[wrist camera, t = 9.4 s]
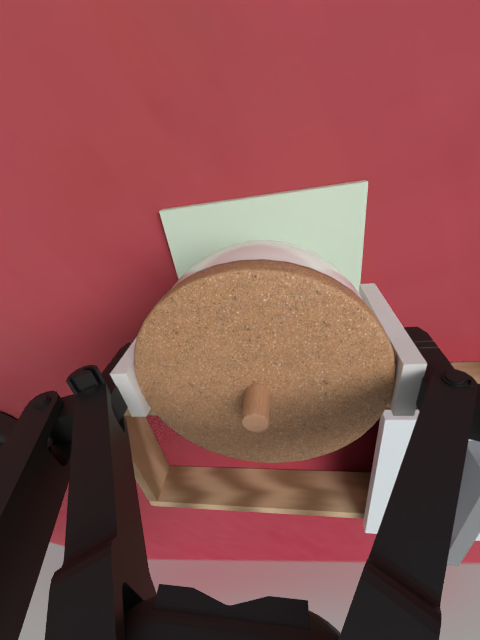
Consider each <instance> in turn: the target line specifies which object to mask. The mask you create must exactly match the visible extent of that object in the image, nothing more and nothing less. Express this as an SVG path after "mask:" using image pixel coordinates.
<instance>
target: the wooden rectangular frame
mask: <svg viewBox="0 0 480 640" xmlns="http://www.w3.org/2000/svg"><path fill="white" fill-rule="evenodd" d="M451 365H452V366H453V367H454V369H458V370H460V371H463V372H466V373H467V374H469V375H470V376H472V377H473V378H474V379H475V381H476V382H477V383H478V384H480V362H454V363H451ZM385 410H391V409H390V406H389V404H388V405H387V407H386V409H385ZM416 410H418V408H417V406H416ZM148 415H157V414H156V413H155V412H154V411H153V409H152V408H151V409H150V411H149V413H148ZM124 417H125V419H126V421H127V427H128V434H129V441H130V447H131V454H132V461H133V468H134V474H135V479H136V481H137V483H138V484H139V486H140V488H141V489H142V491H143V492H144V494H145V496H146V497H147V499H148V500H149V502H150V504H151V505H152V506H165V507H182V508H198V509H215V510H232V511H248V512H265V513H281V514H298V515H314V516H331V517H347V518H364V514H365V508H366V502H367V496H368V490H369V483H370V477H371V472H342V471H312V470H281V469H250V468H220V467H189V466H169V464H168V462H167V460H166V458H165V455H164V453H163V451H162V449H161V447H160V445H159V443H158V441H157V439H156V437H155V435H154V433H153V431H152V429H151V427H150V425H149V422H148V420H147V418H146V417H132V416H131V414H130V412H129V410H128V409H127V410H126V412H125V414H124Z"/></svg>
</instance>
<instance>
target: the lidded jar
mask: <svg viewBox="0 0 480 640" xmlns="http://www.w3.org/2000/svg"><path fill="white" fill-rule="evenodd" d="M134 367H135V372H136V378H137V381H138V383H139V386H140V389H141V392H142V394H143V396H144V397H145V399H146V401H147V402H148V404H149V405H150V407H151V408H152V409H153V411H154V412H155V413H156V414H157V416H158V417H159V418H160V419H161V420H162V421H163V422H164V423H166V424H167V425H168V426H169V427H170V428H171V429H173V430H174V431H175V432H176V433H178V434H179V435H180V436H182V437H184V438H185V439H187V440H189V441H191V442H192V443H194V444H196V445H198V446H200V447H202V448H205V449H207V450H209V451H212V452H215V453H218V454H221V455H224V456H228V457H232V458H236V459H240V460H247V461H254V462H267V463H279V462H293V461H302V460H307V459H311V458H315V457H319V456H322V455H325V454H328V453H331V452H334V451H336V450H338V449H340V448H342V447H344V446H346V445H348V444H350V443H352V442H353V441H355V440H356V439H358V438H359V437H361V436H362V435H363V434H364V433H366V432H367V431H368V430H369V429H370V428H371V427H372V426H373V425H374V424H375V423H376V421H377V420H378V419H379V418H380V417H381V415H382V414H383V412H384V410H385V409H386V407H387V405H388V403H389V401H390V399H391V396H392V392H393V388H394V385H395V376H396V363H395V358H394V352H393V348H392V346H391V344H390V341H389V339H388V337H387V334H386V332H385V330H384V328H383V326H382V325H381V323H380V322H379V320H378V319H377V317H376V316H375V315H374V313H373V312H372V310H371V309H370V308H369V306H368V305H367V304H366V303H365V301H364V300H363V298H362V297H361V295H360V294H359V293H358V291H357V290H356V288H355V287H354V286H353V284H352V283H351V282H350V281H349V280H348V279H347V278H346V277H345V276H344V275H343V274H342V273H341V272H340V271H339V270H338V269H337V268H336V267H335V266H334V265H333V264H331V263H330V262H328V261H327V260H325V259H324V258H322V257H321V256H319V255H318V254H316V253H314V252H312V251H310V250H308V249H306V248H303V247H301V246H299V245H295V244H291V243H288V242H284V241H275V240H250V241H245V242H241V243H236V244H233V245H230V246H228V247H225V248H223V249H220V250H218V251H215V252H214V253H212V254H210V255H209V256H207V257H205V258H204V259H202V260H200V261H199V262H198V263H197V264H195V265H194V266H193V267H192V268H191V269H190V270H188V271H187V272H186V273H185V274H184V275H183V276H181V278H180V279H179V280H178V281H177V282H176V283H175V285H174V286H173V287H172V288H171V289H170V290H169V291H168V292H167V293H166V294H164V295H163V296H162V297H161V299H160V300H159V301H158V302H157V304H156V305H155V306H154V308H153V309H152V310H151V311H150V313H149V314H148V315H147V317H146V318H145V320H144V322H143V324H142V326H141V328H140V330H139V332H138V335H137V339H136V343H135V348H134Z"/></svg>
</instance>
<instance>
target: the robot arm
mask: <svg viewBox="0 0 480 640" xmlns="http://www.w3.org/2000/svg"><path fill="white" fill-rule="evenodd" d="M359 294H360V295H361V297H362V298H363V300H364V301H365V303H366V304H367V305H368V306H369V308H370V309H371V310H372V312H373V313H374V315H375V316H376V317H377V319H378V320H379V322H380V323H381V325H382V326H383V328H384V330H385V332H386V334H387V337H388V339H389V341H390V344H391V346H392V348H393V352H394V358H395V363H396V376H395V385H394V388H393V392H392V396H391V399H390V401H389V403H388V404H389V406H390V409H391V411H392V414H393V416H414V414H415V410H416V406H417V408H418V410H419V414H418V417H417V420H416V423H415V426H414V429H413V432H412V435H411V437H410V440H409V443H408V446H407V449H406V452H405V455H404V458H403V461H402V463H401V466H400V469H399V472H398V475H397V478H396V481H395V484H394V486H393V489H392V492H391V495H390V498H389V501H388V504H387V507H386V510H385V512H384V515H383V518H382V521H381V524H380V527H379V530H378V533H377V535H376V538H375V541H374V544H373V547H372V550H371V553H370V555H369V558H368V559H367V561H366V564H365V566H364V569H363V572H362V575H361V577H360V580H359V583H358V586H357V589H356V592H355V595H354V597H353V600H352V603H351V606H350V609H349V612H348V615H347V617H346V620H345V623H344V626H343V629H342V632H341V633H340V632H339V631H338V630H337V629H336V628H335V627H333V626H332V625H331V624H330V623H329V622H328V621H326V620H325V619H323V618H321V617H320V616H319V615H317V614H315V613H313V612H311V611H309V610H308V601H306V600H298V599H289V598H280V597H271V596H268V597H264V598H260V599H256V600H252V601H248V602H244V603H239V604H236V605H231V606H230V605H225V604H223V603H221V602H219V601H217V600H215V599H213V598H212V597H210V596H208V595H206V594H204V593H202V592H200V591H198V590H196V589H194V588H190V587H181V586H172V585H163V584H159V587H158V591H157V595H156V591H155V588H154V586H153V583H152V580H151V577H150V573H149V568H148V563H147V555H146V548H145V541H144V535H143V528H142V521H141V515H140V508H139V501H138V494H137V488H136V481H135V474H134V468H133V461H132V454H131V447H130V441H129V434H128V427H127V421H126V419H125V417H124V414H125V412H126V410H127V409H128V410H129V412H130V414H131V416H132V417H147V415H148V413H149V411H150V409H151V407H150V405H149V404H148V402H147V401H146V399H145V397H144V396H143V394H142V392H141V389H140V386H139V383H138V381H137V378H136V372H135V367H134V348H135V343H136V339H137V337H136V339H135V340H134V341H133V343H128V344H126V345H125V346H124V347H122V348H121V349H120V350H119V351H118V353H117V354H116V355H115V357H114V358H113V359H112V361H111V362H110V363H109V365H108V366H107V367H106V368H105V370H104V371H103V372H102V374H101V373H100V371H99V369H98V367H97V366H95V365H88V366H84V367H81V368H79V369H77V370H76V371H74V372H73V373H71V375H70V376H69V377H68V378H67V381H66V382H67V383H68V385H69V387H70V388H71V390H72V391H73V393H74V395H70V396H66V397H62V398H60V396H59V395H58V393H57V392H55V391H48V392H45V393H42V394H40V395H38V396H36V397H35V398H34V399H32V400H31V401H30V402H29V403H28V404H27V406H26V407H25V409H24V411H23V412H22V414H21V416H20V417H19V419H18V421H17V420H16V419H14V418H12V417H10V416H8V415H6V414H3V413H1V412H0V640H18V638H19V635H20V632H21V629H22V626H23V622H24V619H25V616H26V613H27V610H28V607H29V604H30V601H31V597H32V594H33V591H34V588H35V585H36V582H37V579H38V576H39V573H40V570H41V566H42V563H43V560H44V557H45V553H46V551H47V548H48V544H49V542H50V538H51V535H52V532H53V529H54V526H55V523H56V520H57V517H58V514H59V510H60V507H61V504H62V501H63V498H64V495H65V492H66V489H67V486H68V482H69V492H68V507H67V522H66V537H65V553H64V562H63V565H62V567H61V568H60V569H59V570H57V571H56V572H55V573H54V575H53V577H52V579H51V585H50V591H49V602H48V612H47V622H46V633H45V640H439V635H440V628H441V610H440V602H441V595H442V589H443V583H444V577H445V571H446V566H447V561H448V555H449V549H450V544H451V538H452V532H453V526H454V521H455V515H456V509H457V504H458V498H459V492H460V487H461V481H462V475H463V470H464V464H465V458H466V452H467V447H468V441H469V439H470V440H474V441H478V442H480V384H478V383H477V382H476V381H475V379H474V378H473V377H472V376H470V375H469V374H467V373H466V372H463V371H460V370H458V369H454V367H453V366H452V365H451V363H450V362H449V361H448V359H447V358H446V357H445V355H444V354H443V353H442V352H441V350H440V349H439V348H438V346H437V345H436V344H435V342H433V340H432V338H431V337H430V336H429V334H428V333H427V332H425V331H423V330H422V329H420V328H419V327H403V326H402V324H401V323H400V321H399V320H398V318H397V317H396V315H395V314H394V312H393V311H392V309H391V308H390V306H389V305H388V303H387V302H386V300H385V299H384V297H383V295H382V294H381V292H380V291H379V289H378V288H377V286H376V285H375V283H371V284H360V286H359ZM48 441H49V442H48ZM47 442H48V444H47Z"/></svg>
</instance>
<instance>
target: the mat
mask: <svg viewBox="0 0 480 640" xmlns="http://www.w3.org/2000/svg"><path fill="white" fill-rule="evenodd" d="M367 190H368V181H366V180H363V181H356V182H349V183H342V184H335V185H328V186H321V187H314V188H307V189H300V190H293V191H286V192H279V193H272V194H265V195H258V196H251V197H244V198H237V199H230V200H223V201H216V202H209V203H202V204H195V205H188V206H181V207H174V208H167V209H162V210H160V211H159V213H160V216H161V220H162V223H163V227H164V230H165V234H166V237H167V241H168V244H169V248H170V251H171V255H172V258H173V262H174V265H175V269H176V272H177V276H178V279H180V278H181V276H183V275H184V274H185V273H186V272H187V271H188V270H190V269H191V268H192V267H193V266H194V265H195V264H197V263H198V262H199V261H200V260H202V259H204V258H205V257H207V256H209V255H210V254H212V253H214V252H215V251H218V250H220V249H223V248H225V247H228V246H230V245H233V244H236V243H241V242H245V241H250V240H275V241H284V242H288V243H291V244H295V245H299V246H301V247H303V248H306V249H308V250H310V251H312V252H314V253H316V254H318V255H319V256H321V257H322V258H324V259H325V260H327V261H328V262H330V263H331V264H333V265H334V266H335V267H336V268H337V269H338V270H339V271H340V272H341V273H342V274H343V275H344V276H345V277H346V278H347V279H348V280H349V281H350V282H351V283H352V284H353V286H354V287H355V288H356V290H357V291H358V293H359V286H360V279H361V266H362V254H363V241H364V228H365V216H366V203H367Z"/></svg>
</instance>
